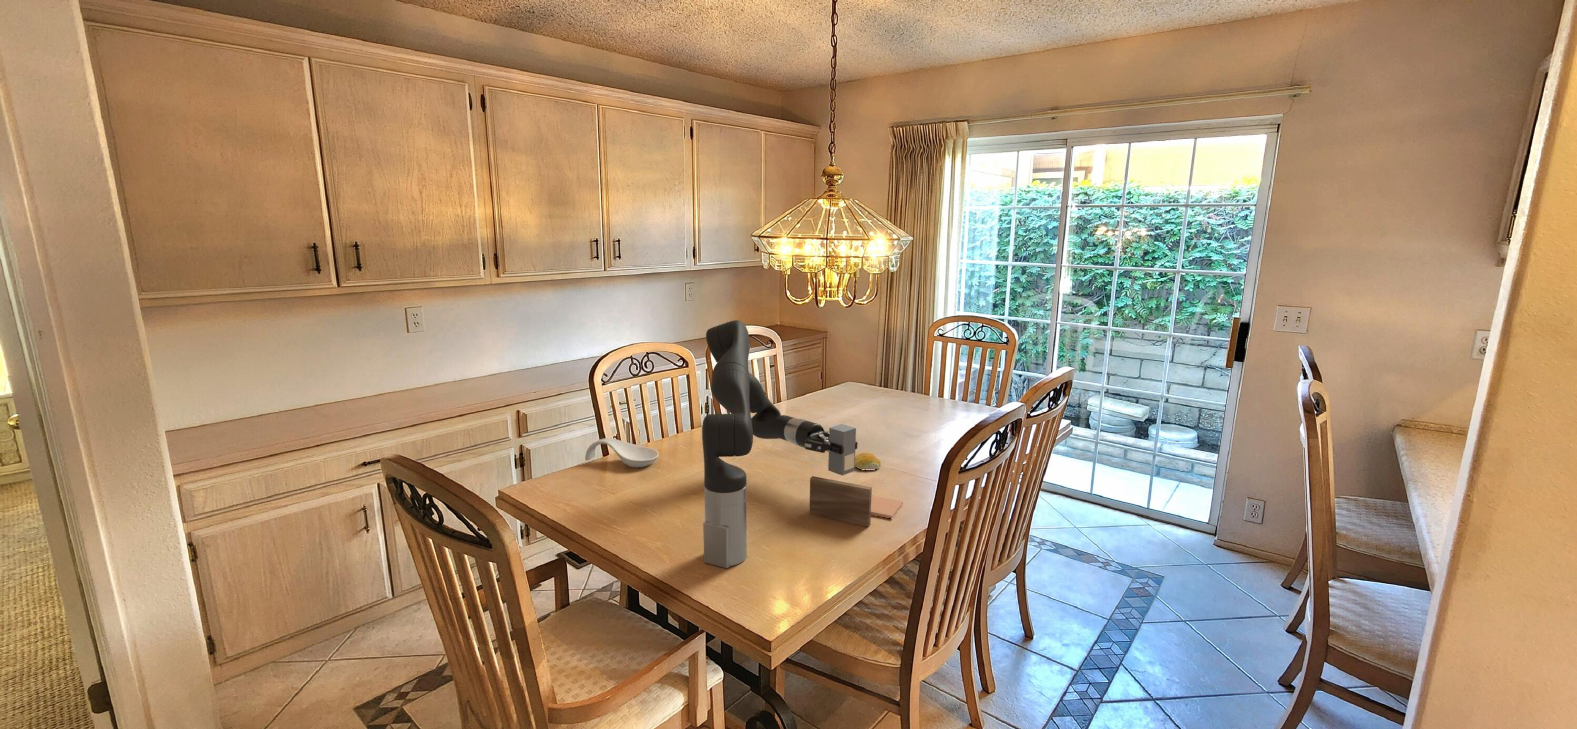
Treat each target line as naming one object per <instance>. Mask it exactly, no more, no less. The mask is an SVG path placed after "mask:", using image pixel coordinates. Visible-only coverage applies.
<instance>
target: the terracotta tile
mask: <svg viewBox="0 0 1577 729" xmlns="http://www.w3.org/2000/svg"><path fill="white" fill-rule="evenodd" d="M902 504H904V501H903V500H900V499H899V500H898V499H893V498H889V497H883V496H879V495H873V494H872V495H871V516H872V515H876V516H875V517H877V516H881V517H880V518H882V517H887V518H893V519H894V517H895V516H896V515H897V513H898V512H897V511H898V509H899V508H900V507H901V508H902V506H903V505H902ZM901 505H902V506H901ZM901 508H900V509H901ZM900 509H899V510H900ZM896 512H897V513H896ZM895 514H896V515H895ZM894 515H895V516H894ZM893 516H894V517H893ZM887 518H886V519H887Z"/></svg>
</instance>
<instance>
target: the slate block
mask: <svg viewBox="0 0 1577 729" xmlns="http://www.w3.org/2000/svg"><path fill="white" fill-rule="evenodd" d="M829 441H830V442H832V443H835V444H838V445H841V446H843V447H844V453H843V454H838V453H835V452H832V451H831V452H828V463H827V466H828V470H827V471H829V472H831V473H834V474H836V475H838V476H839V475H840V476H846V475H847V474H850V473H852V472H855V469H856V467H855V457H856V449H855V442H856V441H857V428H856V427H853V426H850V425H847V424H843V423H841V424H838V425H834V426H831V427H829Z"/></svg>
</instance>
